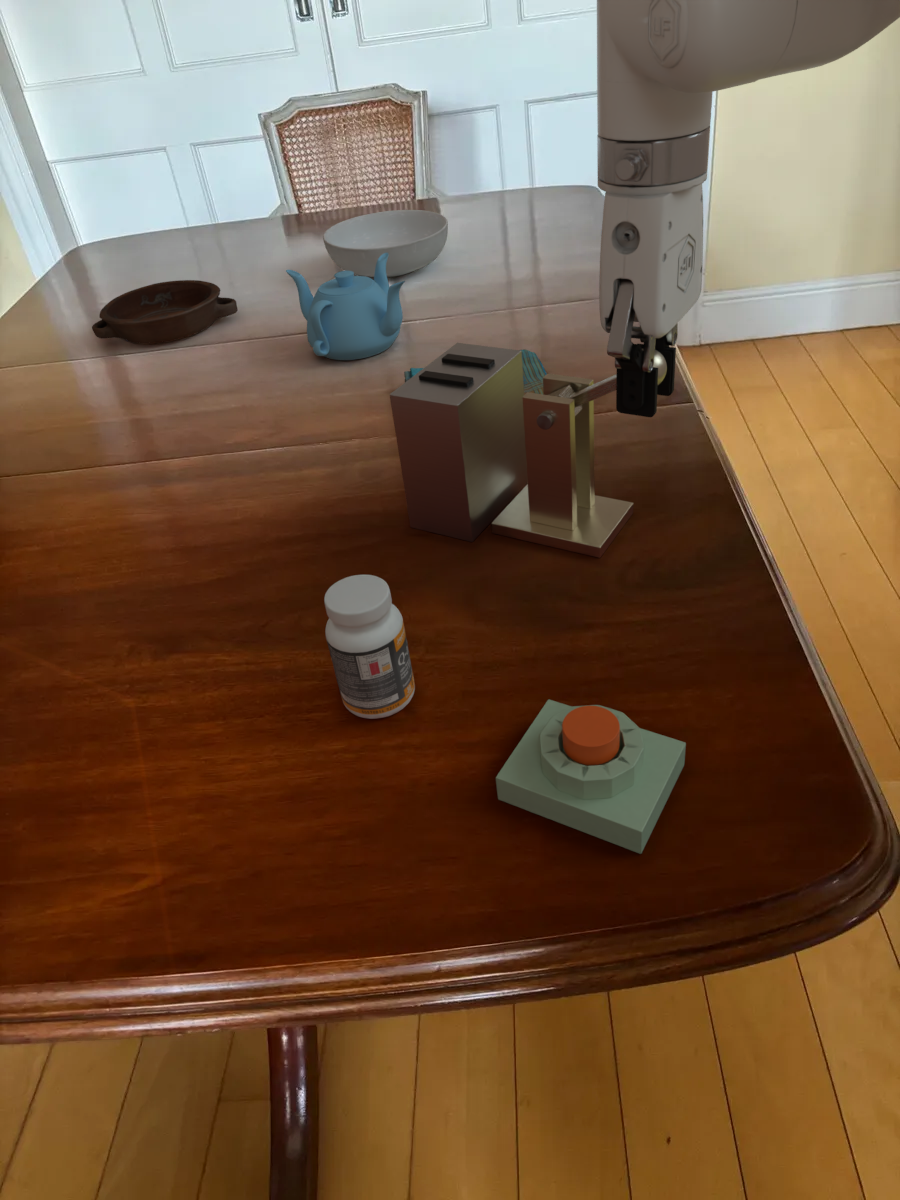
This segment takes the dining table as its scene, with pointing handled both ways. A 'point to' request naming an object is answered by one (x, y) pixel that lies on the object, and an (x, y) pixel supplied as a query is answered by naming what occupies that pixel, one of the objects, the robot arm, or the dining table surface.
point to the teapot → (351, 313)
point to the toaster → (461, 439)
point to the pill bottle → (368, 647)
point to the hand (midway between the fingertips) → (645, 400)
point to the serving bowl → (387, 241)
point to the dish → (163, 312)
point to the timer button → (591, 735)
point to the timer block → (593, 779)
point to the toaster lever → (604, 386)
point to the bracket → (561, 477)
